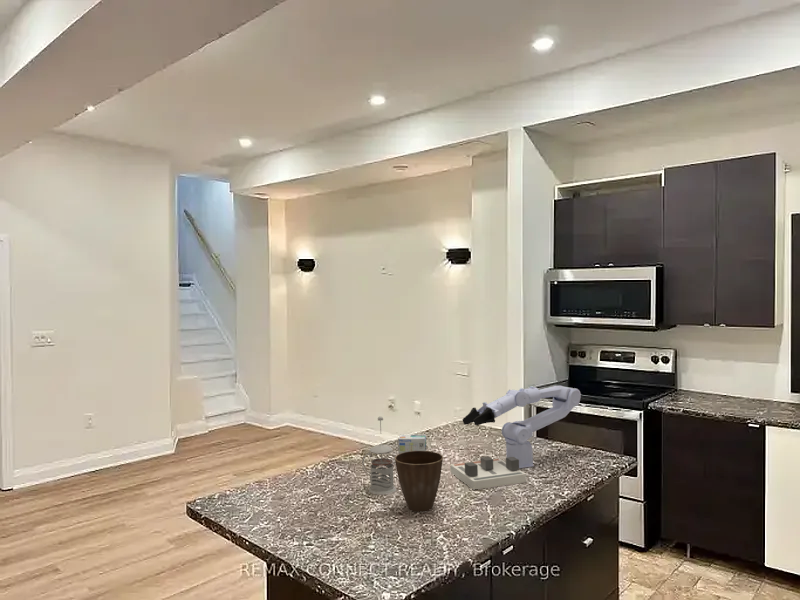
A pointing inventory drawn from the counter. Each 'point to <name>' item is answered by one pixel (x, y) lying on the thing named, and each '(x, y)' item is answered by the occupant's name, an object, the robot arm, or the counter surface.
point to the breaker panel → (489, 473)
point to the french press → (381, 470)
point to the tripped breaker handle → (487, 463)
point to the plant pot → (419, 478)
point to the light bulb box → (411, 443)
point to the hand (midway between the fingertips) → (469, 422)
